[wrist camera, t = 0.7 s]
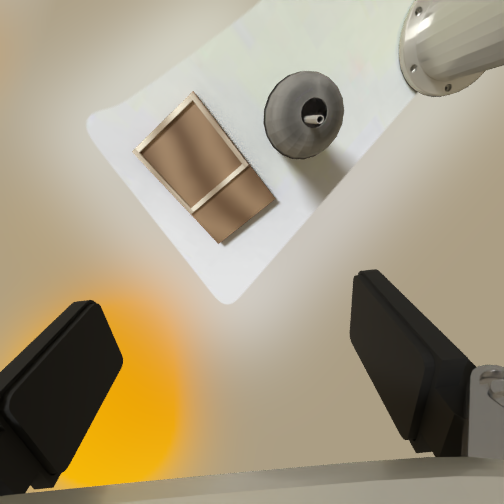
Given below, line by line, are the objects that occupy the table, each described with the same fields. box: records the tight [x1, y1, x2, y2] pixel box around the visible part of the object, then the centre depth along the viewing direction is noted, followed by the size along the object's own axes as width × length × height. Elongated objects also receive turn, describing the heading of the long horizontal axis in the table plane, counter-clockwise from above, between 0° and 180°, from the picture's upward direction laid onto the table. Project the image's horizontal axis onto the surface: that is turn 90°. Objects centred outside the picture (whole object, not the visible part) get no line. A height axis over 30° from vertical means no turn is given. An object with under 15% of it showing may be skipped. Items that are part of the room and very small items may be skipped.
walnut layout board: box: [132, 91, 275, 244], centre depth 35 cm, size 11×17×2 cm, turn 39°
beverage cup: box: [264, 71, 344, 159], centre depth 25 cm, size 7×7×20 cm
